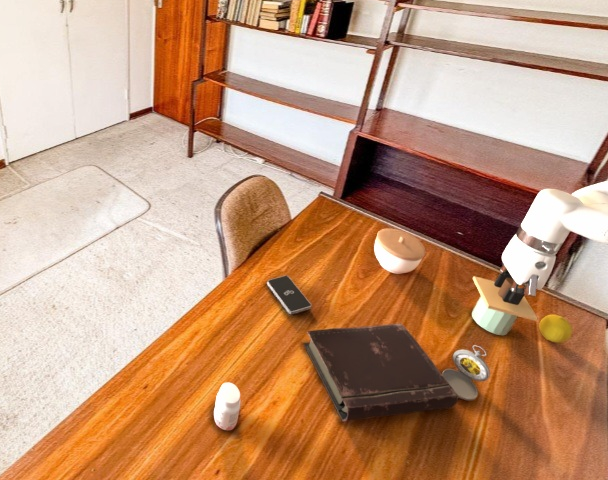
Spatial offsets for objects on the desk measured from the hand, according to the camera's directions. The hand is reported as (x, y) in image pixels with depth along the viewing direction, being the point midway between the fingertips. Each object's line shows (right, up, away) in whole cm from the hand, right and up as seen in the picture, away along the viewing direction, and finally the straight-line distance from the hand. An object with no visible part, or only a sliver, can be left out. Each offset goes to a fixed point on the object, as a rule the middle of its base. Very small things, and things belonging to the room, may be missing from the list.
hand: (505, 294), depth 100 cm
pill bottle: (-75, -17, -19) cm, 79 cm away
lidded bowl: (-16, -1, +22) cm, 27 cm away
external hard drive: (-52, -5, +9) cm, 53 cm away
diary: (-40, -14, -10) cm, 43 cm away
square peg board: (0, -1, +1) cm, 2 cm away
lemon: (+11, -12, 0) cm, 16 cm away
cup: (0, -9, +4) cm, 10 cm away
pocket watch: (-20, -16, -11) cm, 28 cm away
